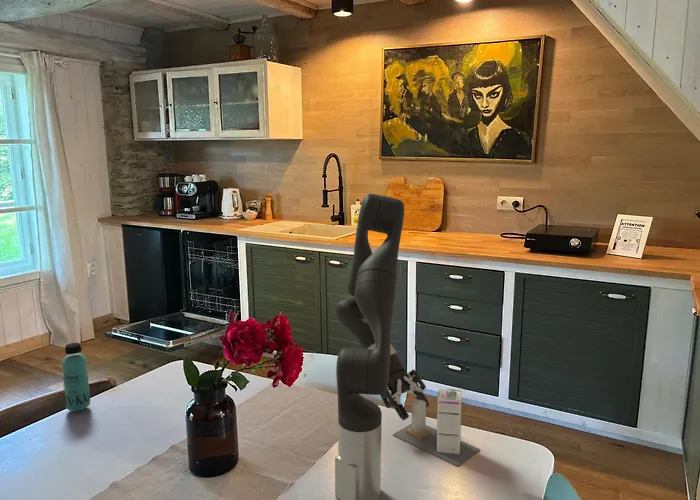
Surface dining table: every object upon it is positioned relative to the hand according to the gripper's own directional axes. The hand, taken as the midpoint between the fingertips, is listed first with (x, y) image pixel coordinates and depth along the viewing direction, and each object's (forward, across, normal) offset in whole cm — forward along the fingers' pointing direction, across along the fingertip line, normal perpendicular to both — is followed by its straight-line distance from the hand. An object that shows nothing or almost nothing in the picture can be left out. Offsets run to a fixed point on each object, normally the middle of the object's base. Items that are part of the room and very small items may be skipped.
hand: (416, 413), depth 143 cm
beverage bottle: (-49, -58, +58) cm, 96 cm away
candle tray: (+8, 0, 0) cm, 9 cm away
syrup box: (+11, 0, -3) cm, 12 cm away
